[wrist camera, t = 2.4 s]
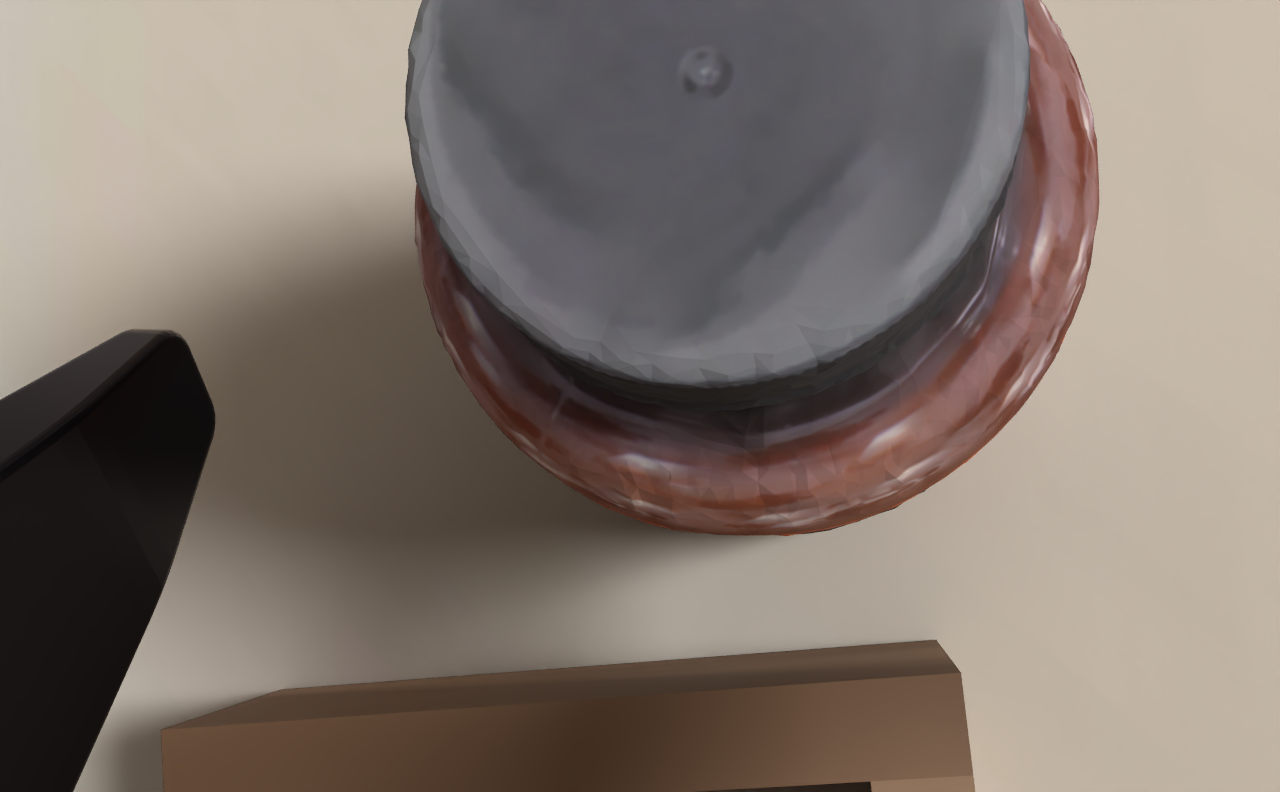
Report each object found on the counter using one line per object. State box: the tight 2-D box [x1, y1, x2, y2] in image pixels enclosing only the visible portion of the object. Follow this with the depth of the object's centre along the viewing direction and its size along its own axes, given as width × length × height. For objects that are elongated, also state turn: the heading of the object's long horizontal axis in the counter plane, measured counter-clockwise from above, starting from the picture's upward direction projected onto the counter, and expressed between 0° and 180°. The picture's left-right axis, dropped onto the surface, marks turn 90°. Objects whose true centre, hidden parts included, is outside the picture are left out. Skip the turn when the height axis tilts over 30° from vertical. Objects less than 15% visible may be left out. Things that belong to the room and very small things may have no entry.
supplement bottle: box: [405, 0, 1099, 536], centre depth 13 cm, size 6×6×11 cm
